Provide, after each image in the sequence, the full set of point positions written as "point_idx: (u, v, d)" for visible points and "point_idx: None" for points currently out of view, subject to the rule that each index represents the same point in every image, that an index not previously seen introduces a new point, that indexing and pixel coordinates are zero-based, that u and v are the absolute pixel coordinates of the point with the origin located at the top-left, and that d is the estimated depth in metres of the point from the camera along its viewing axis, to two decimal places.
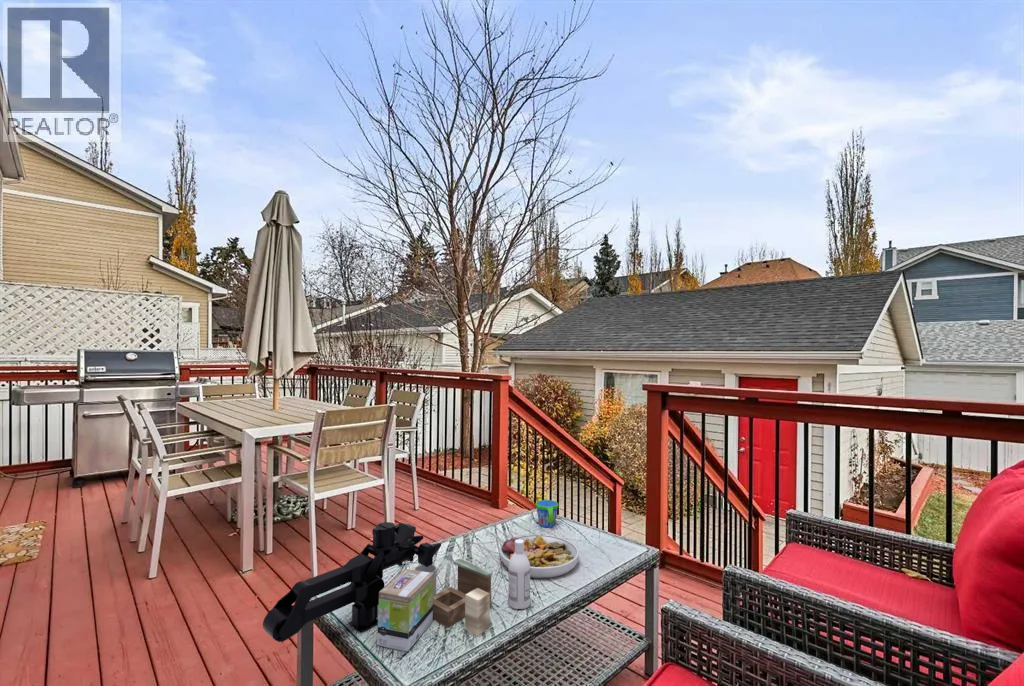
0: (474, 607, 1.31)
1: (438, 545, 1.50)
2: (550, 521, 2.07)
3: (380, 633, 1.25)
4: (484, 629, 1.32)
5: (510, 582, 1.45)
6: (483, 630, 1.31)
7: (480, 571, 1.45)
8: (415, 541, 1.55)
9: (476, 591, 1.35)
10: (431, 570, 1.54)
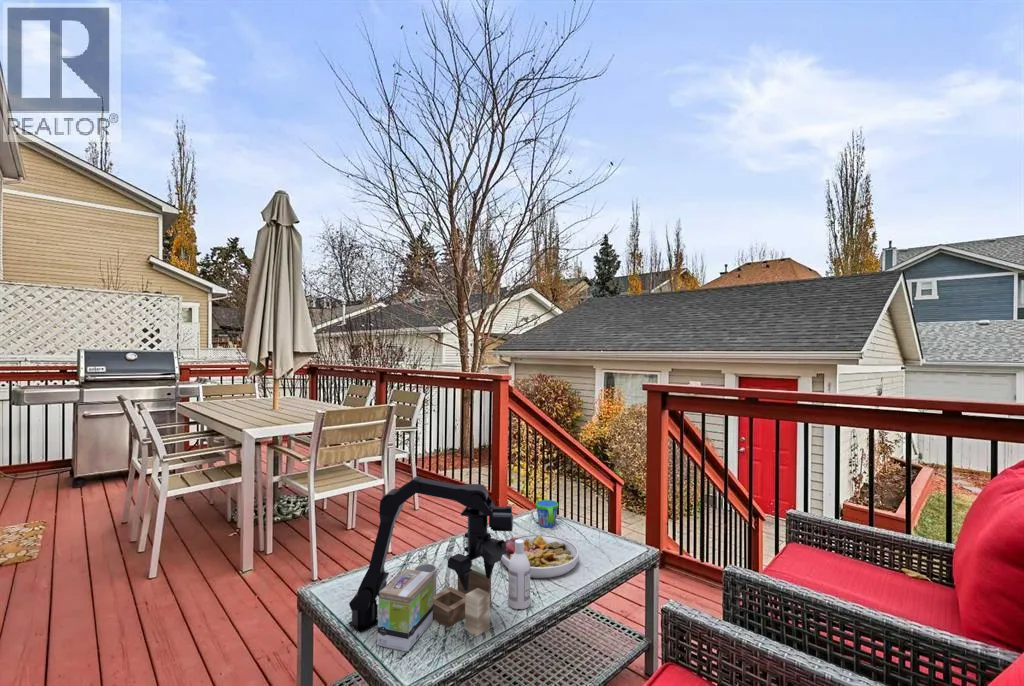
0: (474, 607, 1.31)
1: (465, 586, 1.29)
2: (550, 521, 2.07)
3: (380, 633, 1.25)
4: (484, 629, 1.32)
5: (510, 582, 1.45)
6: (483, 630, 1.31)
7: (480, 571, 1.45)
8: (487, 566, 1.37)
9: (476, 591, 1.35)
10: (431, 570, 1.54)
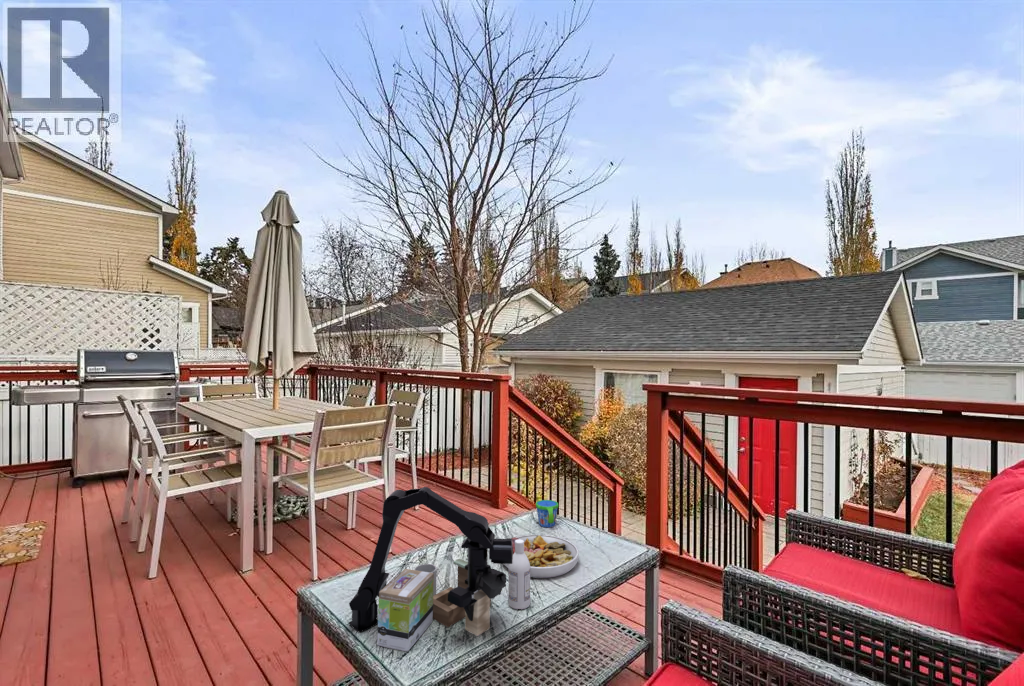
0: (474, 607, 1.31)
1: (470, 616, 1.31)
2: (550, 521, 2.07)
3: (380, 633, 1.25)
4: (484, 629, 1.32)
5: (510, 582, 1.45)
6: (483, 630, 1.31)
7: None
8: None
9: None
10: (431, 570, 1.54)
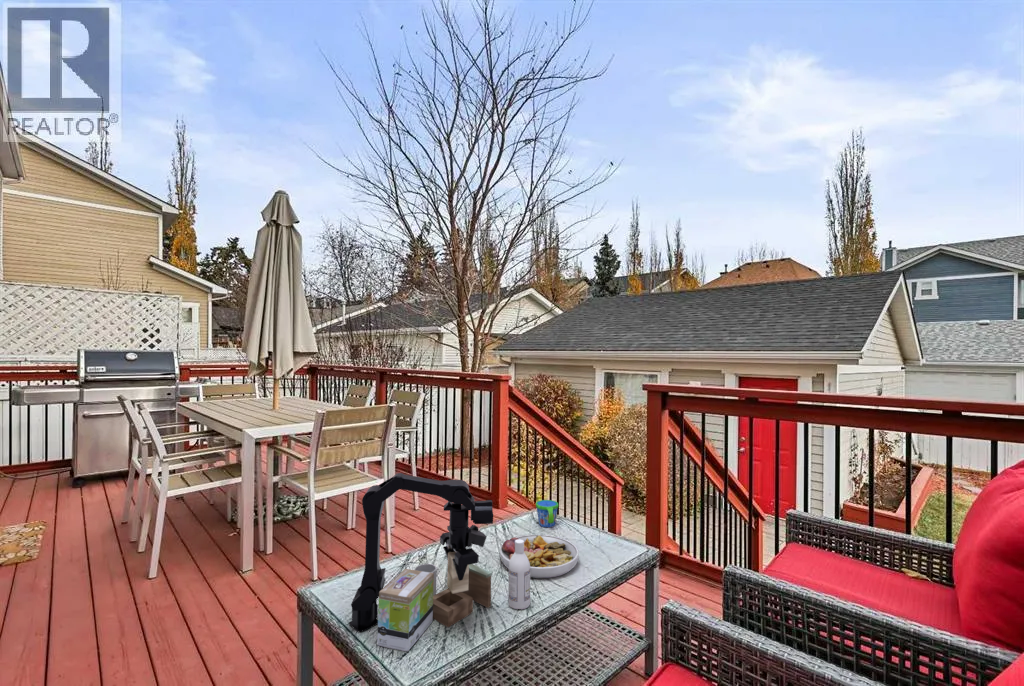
0: None
1: (462, 575, 1.36)
2: (550, 521, 2.07)
3: (380, 633, 1.25)
4: None
5: (510, 582, 1.45)
6: None
7: (480, 571, 1.45)
8: None
9: (452, 554, 1.39)
10: (431, 570, 1.54)
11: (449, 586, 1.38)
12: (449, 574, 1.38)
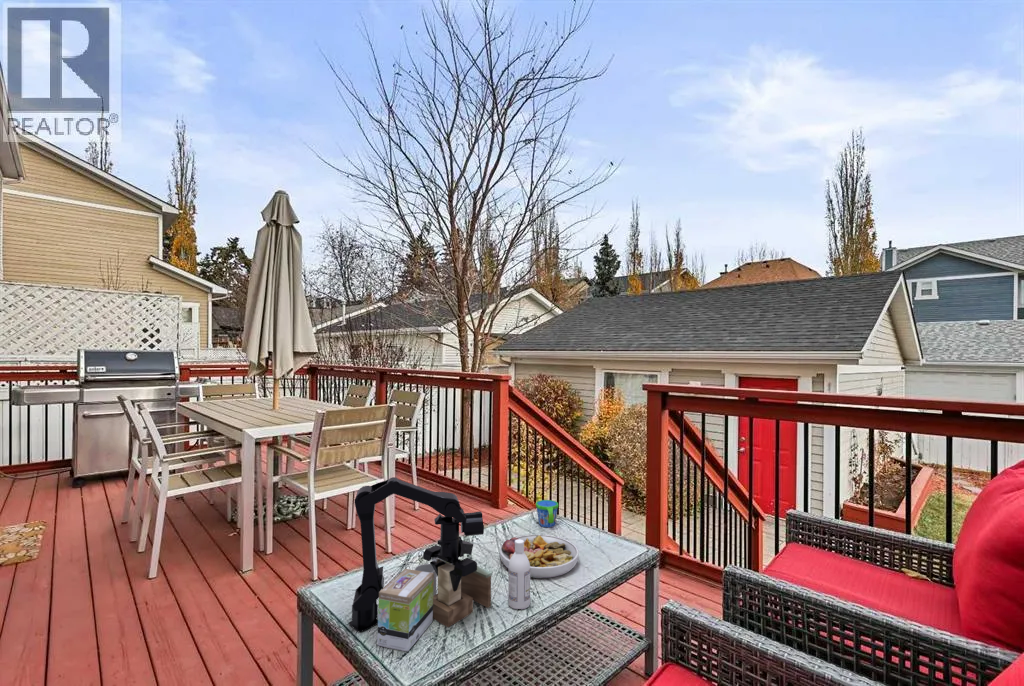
0: None
1: (457, 586, 1.39)
2: (550, 521, 2.07)
3: (380, 633, 1.25)
4: None
5: (510, 582, 1.45)
6: None
7: (480, 571, 1.45)
8: None
9: (444, 567, 1.41)
10: (431, 570, 1.54)
11: (442, 599, 1.39)
12: (442, 588, 1.40)
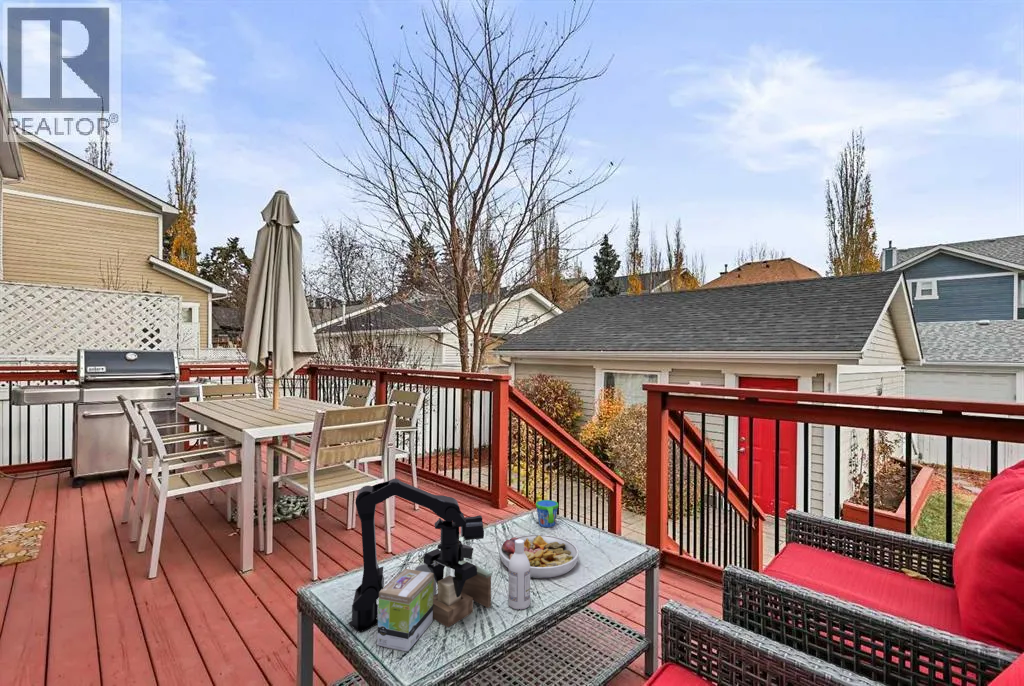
0: None
1: (460, 591, 1.38)
2: (550, 521, 2.07)
3: (380, 633, 1.25)
4: None
5: (510, 582, 1.45)
6: None
7: (480, 571, 1.45)
8: (439, 577, 1.43)
9: (444, 581, 1.41)
10: None
11: None
12: (442, 602, 1.39)
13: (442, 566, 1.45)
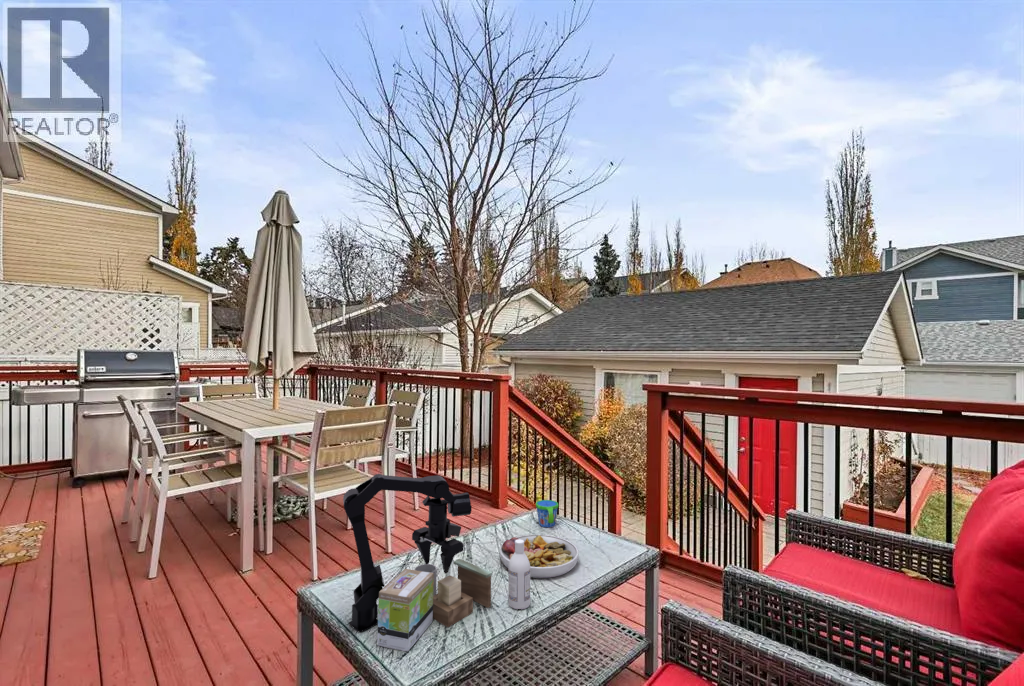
0: (457, 589, 1.40)
1: (448, 568, 1.40)
2: (550, 521, 2.07)
3: (380, 633, 1.25)
4: None
5: (510, 582, 1.45)
6: None
7: (480, 571, 1.45)
8: (426, 553, 1.46)
9: (444, 581, 1.41)
10: (431, 570, 1.54)
11: None
12: (442, 602, 1.39)
13: (429, 542, 1.48)
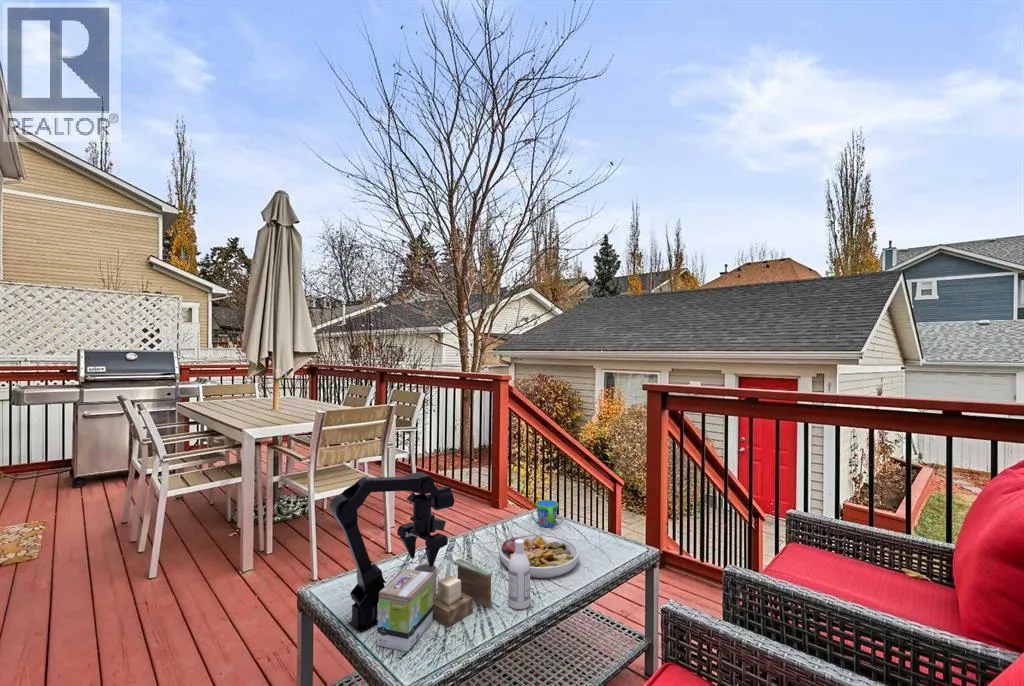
0: (457, 589, 1.40)
1: (433, 562, 1.44)
2: (550, 521, 2.07)
3: (380, 633, 1.25)
4: None
5: (510, 582, 1.45)
6: None
7: (480, 571, 1.45)
8: (411, 548, 1.50)
9: (444, 581, 1.41)
10: (431, 570, 1.54)
11: None
12: (442, 602, 1.39)
13: (414, 537, 1.51)
